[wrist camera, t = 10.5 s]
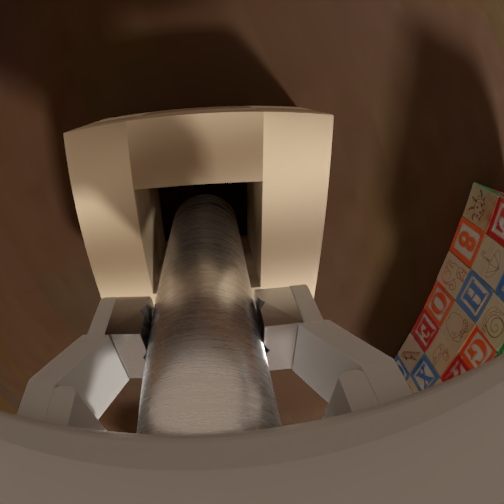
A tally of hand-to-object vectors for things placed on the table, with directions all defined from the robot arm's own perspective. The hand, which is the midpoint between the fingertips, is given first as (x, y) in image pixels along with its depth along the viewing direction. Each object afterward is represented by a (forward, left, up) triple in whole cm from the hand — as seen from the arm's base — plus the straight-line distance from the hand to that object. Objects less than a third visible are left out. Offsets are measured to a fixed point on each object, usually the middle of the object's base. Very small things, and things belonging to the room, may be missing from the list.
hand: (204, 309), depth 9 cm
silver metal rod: (0, 0, -6) cm, 6 cm away
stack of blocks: (+9, +21, -9) cm, 25 cm away
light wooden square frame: (0, 0, -9) cm, 9 cm away
